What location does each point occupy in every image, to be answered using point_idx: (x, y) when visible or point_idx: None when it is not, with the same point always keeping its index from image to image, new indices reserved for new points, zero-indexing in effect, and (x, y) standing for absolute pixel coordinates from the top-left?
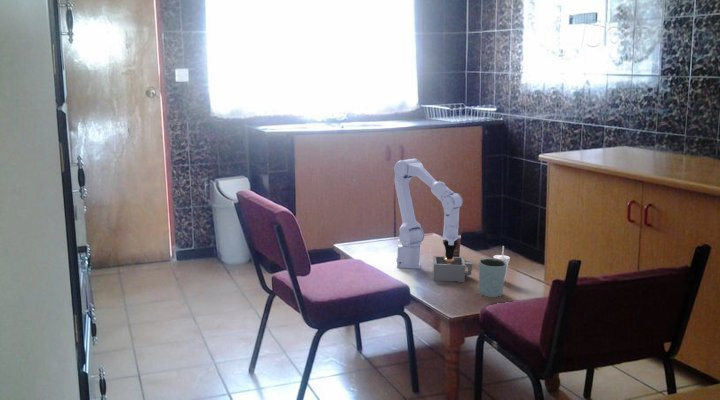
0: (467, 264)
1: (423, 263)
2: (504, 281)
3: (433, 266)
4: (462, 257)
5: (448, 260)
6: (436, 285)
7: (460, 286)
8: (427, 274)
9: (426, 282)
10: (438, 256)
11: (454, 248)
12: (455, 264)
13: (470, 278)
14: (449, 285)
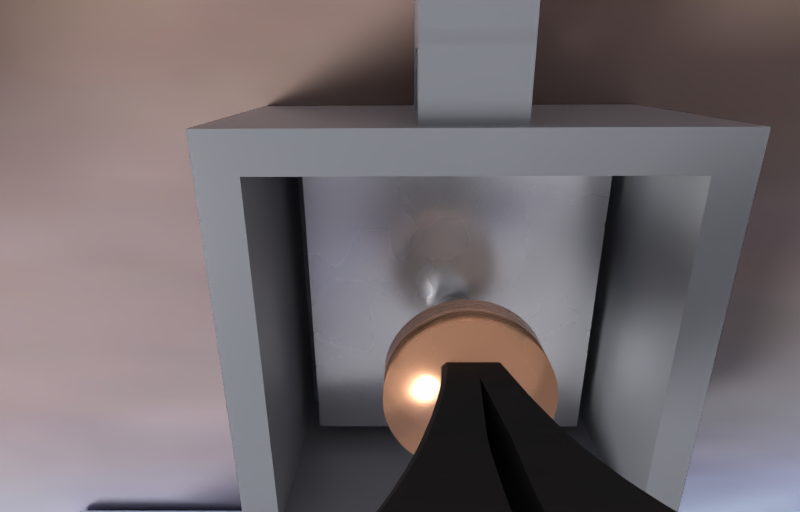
0: (530, 67)
1: (55, 480)
2: None
3: None
4: (206, 150)
5: (550, 405)
6: (741, 388)
7: (793, 160)
8: None
9: None
10: (264, 502)
11: (654, 507)
12: (277, 230)
13: None
14: (749, 273)
